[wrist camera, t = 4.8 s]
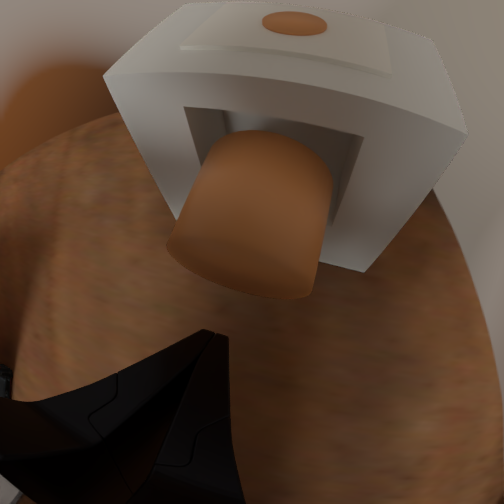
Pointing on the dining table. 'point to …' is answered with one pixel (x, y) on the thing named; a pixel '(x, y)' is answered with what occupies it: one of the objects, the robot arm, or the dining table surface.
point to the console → (297, 107)
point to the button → (256, 216)
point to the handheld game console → (5, 381)
